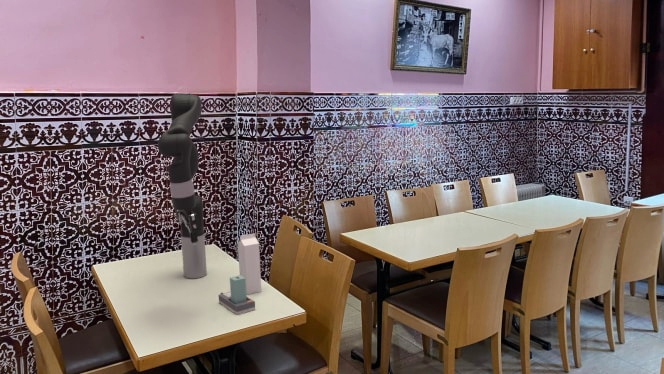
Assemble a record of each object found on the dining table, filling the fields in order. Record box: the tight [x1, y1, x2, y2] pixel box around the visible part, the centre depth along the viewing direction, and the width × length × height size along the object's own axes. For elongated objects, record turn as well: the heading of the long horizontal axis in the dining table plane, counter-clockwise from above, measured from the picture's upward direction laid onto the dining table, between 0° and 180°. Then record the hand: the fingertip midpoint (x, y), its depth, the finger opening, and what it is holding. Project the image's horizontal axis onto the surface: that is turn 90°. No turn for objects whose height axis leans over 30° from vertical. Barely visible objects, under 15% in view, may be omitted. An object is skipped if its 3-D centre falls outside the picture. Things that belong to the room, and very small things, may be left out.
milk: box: [237, 232, 262, 296], centre depth 208 cm, size 6×6×22 cm
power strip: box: [218, 291, 256, 315], centre depth 197 cm, size 19×7×3 cm, turn 37°
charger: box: [229, 274, 247, 304], centre depth 193 cm, size 4×4×10 cm
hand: (190, 238), depth 189 cm, fingers open, 8 cm apart
